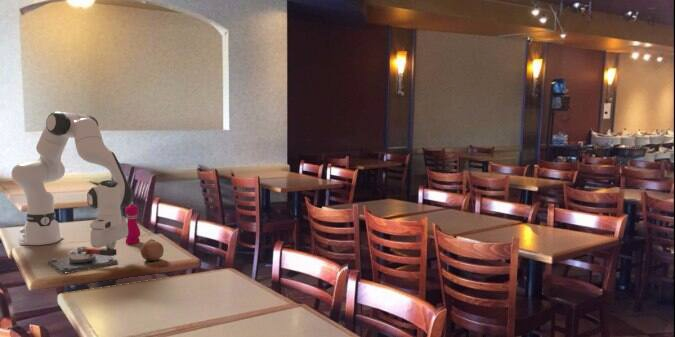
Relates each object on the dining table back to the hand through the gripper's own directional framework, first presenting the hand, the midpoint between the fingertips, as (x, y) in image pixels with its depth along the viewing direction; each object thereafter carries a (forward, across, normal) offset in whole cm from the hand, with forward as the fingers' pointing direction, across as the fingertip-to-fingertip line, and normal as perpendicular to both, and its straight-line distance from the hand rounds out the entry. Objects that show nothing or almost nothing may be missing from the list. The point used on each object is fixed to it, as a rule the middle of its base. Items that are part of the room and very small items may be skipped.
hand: (110, 252), depth 233 cm
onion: (+5, -10, +13) cm, 17 cm away
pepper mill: (+6, -33, -12) cm, 36 cm away
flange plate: (+5, +3, -12) cm, 13 cm away
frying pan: (+3, +3, -7) cm, 8 cm away
